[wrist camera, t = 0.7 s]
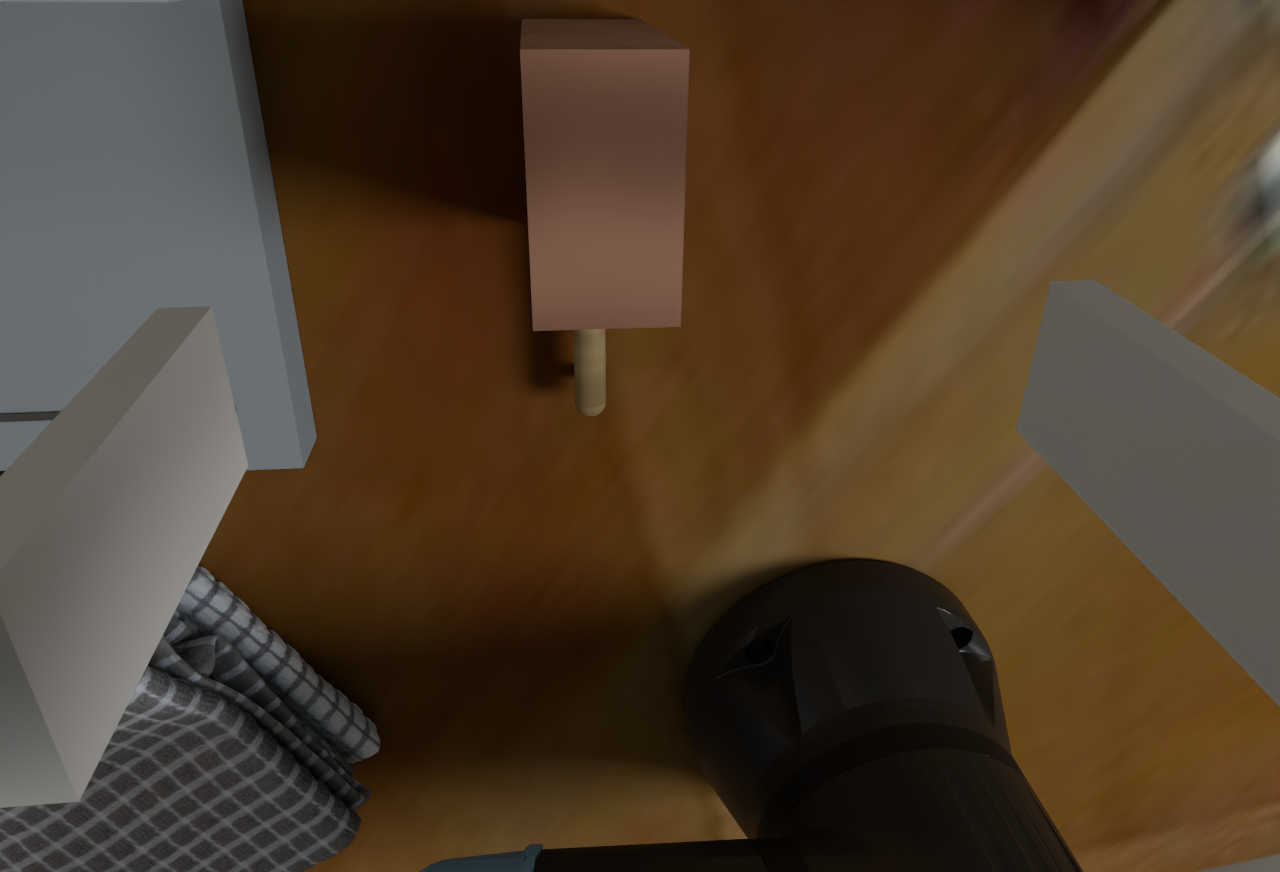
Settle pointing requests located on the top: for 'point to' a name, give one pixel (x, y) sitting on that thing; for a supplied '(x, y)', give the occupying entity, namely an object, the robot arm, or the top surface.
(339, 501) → the top surface
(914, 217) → the top surface
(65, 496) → the robot arm
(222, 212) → the board
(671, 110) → the brown blocky piece
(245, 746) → the towel
